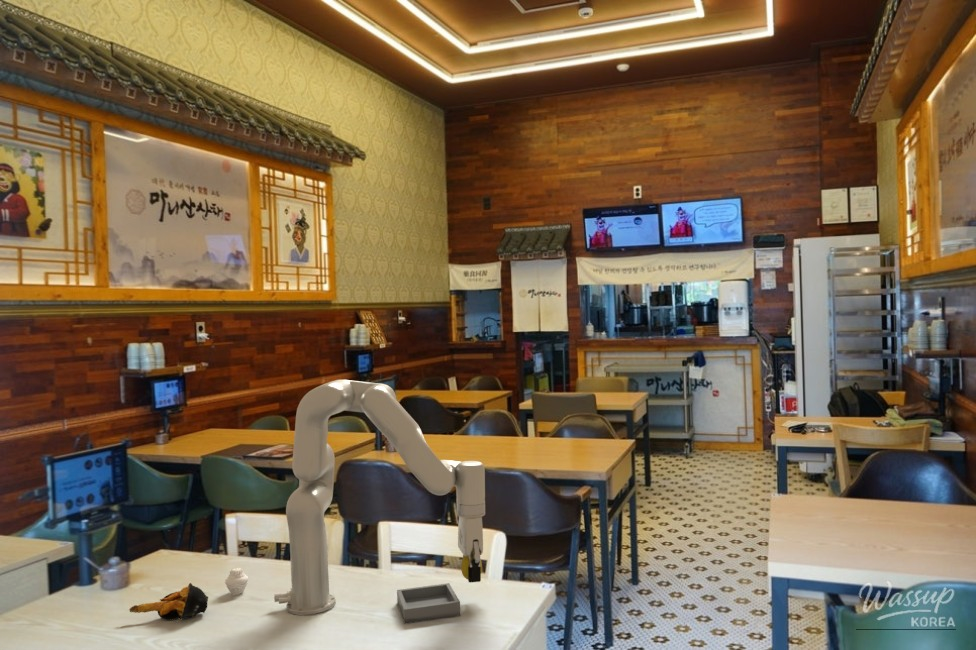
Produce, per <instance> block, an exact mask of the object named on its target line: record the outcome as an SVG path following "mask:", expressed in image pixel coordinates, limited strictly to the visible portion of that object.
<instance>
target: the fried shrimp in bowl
mask: <svg viewBox="0 0 976 650" xmlns="http://www.w3.org/2000/svg"><path fill="white" fill-rule="evenodd" d="M208 601H209V596H207V595H206V593H205V592H204V591H203V590H202V589H201V588H200V587H197V586H195V585H193V584H192V582H190V583H189V584H188V585H187V586H185V587H183V588H181V590H179V591H175V592H171V593H169V594H167V595H165V596H164V597H163V598H161V599H159V601H156V602H155V601H154V602H148V603H147V602H145V603H141V604H139V605H136V604H135V605H133V606H131V607H130V608H129V612H130V613H135V614H136V613H137V614H140V613H149V612H157V615H158V617H160V619H162V620H164V621H174V620H178V619H179V620H180V621H181V620H183V619H189V618H190V619H191V618H194V617H196V616H198V615H199V614H201V613H205V612H206V611H207V608H208Z"/></svg>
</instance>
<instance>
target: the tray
mask: <svg viewBox="0 0 976 650" xmlns="http://www.w3.org/2000/svg"><path fill="white" fill-rule="evenodd" d="M396 601H397V606H398V609H399V612H400V614H401V617H402V620H403V623H404V624H406V625H407V624H413V623H414V624H415V623H421V622H427V621H435V620H441V619H448V618H454V617H455V618H456V617H461V615H462V614H461V601H460V599H459V597H458V596H457V594H456V593H455V591H454V588H452V585H451V584H450V582H448V583H440V584H432V585H425V586H417V587H416V586H415V587H409V588H402V589H401V588H399V589H397V590H396Z"/></svg>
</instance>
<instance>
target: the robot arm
mask: <svg viewBox="0 0 976 650" xmlns="http://www.w3.org/2000/svg"><path fill="white" fill-rule="evenodd" d="M344 411H346V412H354V413H355V412H356V413H364V414H365V415H366V417H367V418H368V419H369V421H370V422H371V423H372V424H373V425H374V426H375V427H376V428H377V429H378V430H379V432H380V433H381V434H382V435H383V436H384V437H385V438H386V439H387V441H388V442H389V443H390V444H391V446H393V447H394V450H395V451H396V453H397V454H398V456H399V457H400V458H401V460H402V461H403V463H404V464H405V465H406V467H407V468H408V470H409V471H410V472H411V473H412V475H414V477H415V478H416V479H417V480H418V482H420V483H421V485H422V486H424V488H425V489H426V490H427V492H429V493H431V494H433V495H435V496H445V495H447V494H448V493H450V491H452V490H453V488H454V487H455V489H456V491H455V493H456V495H455V496H456V516H458V526H457V530H458V531H457V535H458V536H457V547H458V549H459V551H460V552H461V553H462V558H463V557H464V556H467V555H469V567H468V579H467V581H468V583H479V582H481V580H482V577H481V576H482V572H481V565H480V559H481V555H482V554H483V553H484V534H483V533H484V531H483V517H484V516H485V515H486V479H485V477H486V472H485V471H486V470H485V465H484V463H482V462H481V461H479V460H465V461H458V460H450V459H439V458H438V456H437V455H436V454H435V453H434V452H433V450H432V449H431V447H430V446H429V444H428V443H427V442H426V438H425V437H424V434H423V432H422V429H421V428H420V426H419V423H417V422H416V421H415V419H414V418H413V417H412V416H411V414H410V413H408V411H406V409H405V408H404V407H403V406H402V404H400V402H399V401H398V400H397V395H396V393H395V391H394V389H393V388H392V387H391V386H389V385H388V384H385V383H377V382H369V381H359V380H349V379H336V380H332V381H328V382H326V383H323V384H322V385H319V386H316V387H315V388H312V389H311V390H310V391H308V392H307V393H306V394H305V395H304V396H303V397H302V399H301V400H300V401H299V404H298V406H297V408H296V415H295V423H294V424H295V425H294V426H295V427H294V437H293V451H292V452H293V453H292V460H291V461H292V464H291V466H292V467H291V469H292V472H293V474H294V476H295V478H296V479H298V480H299V481H298V482H299V483H298V487H297V489H295V490H294V491H293V492H292V493H291V494H290V496H289V497H288V500H287V503H286V505H285V517H286V522H287V528H288V535H289V553H290V554H289V555H290V575H291V576H290V577H291V579H290V580H291V587H290V591H286V593H275V594H274V597H273V598H274V599H273V601H274V603H277V602H278V604H286V606H285V607H286V610H287V612H288V613H290V614H293V615H298V616H306V615H308V616H309V615H316V614H320V613H323V612H326V611H329V610H330V609H332V608H333V607H334V606H336V597H335V596H334V595H332V594H330V581H329V579H330V578H329V577H330V576H329V561H328V556H329V555H328V538H327V537H328V536H327V526H326V522H325V512H326V511H327V509H328V508H329V507H330V506H331V503H332V501H333V496H334V494H333V493H334V480H335V467H336V464H335V463H336V461H335V460H336V457H335V453H334V450H333V448H332V446H331V445H330V444H328V435H329V426H328V422H329V419H330V417H331V416H334V415H336V414H337V415H338V414H339V413H342V412H344ZM471 552H473V553H474V554H472V555H471ZM472 557H474V559H473V560H472Z"/></svg>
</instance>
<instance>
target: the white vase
mask: <svg viewBox="0 0 976 650" xmlns="http://www.w3.org/2000/svg"><path fill="white" fill-rule="evenodd" d="M224 581H225V582H224V583H225V585H226V587H227V589H228V592H230V594H231V595H233V594H237V595H241V594H243V593H244V592H245V589H246V587H247V585H248V582H249V577H248V575H246V574H245V572H244V570H243V568H240V567H235V568H233V569H231V570H230V571H229V574H228V576H227V578H225V580H224ZM240 593H241V594H240Z"/></svg>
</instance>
